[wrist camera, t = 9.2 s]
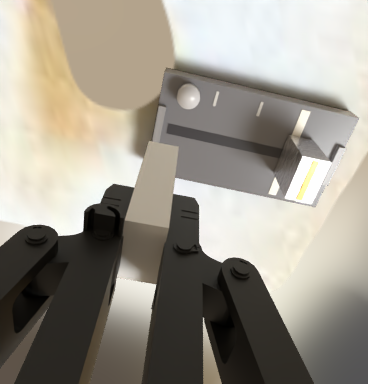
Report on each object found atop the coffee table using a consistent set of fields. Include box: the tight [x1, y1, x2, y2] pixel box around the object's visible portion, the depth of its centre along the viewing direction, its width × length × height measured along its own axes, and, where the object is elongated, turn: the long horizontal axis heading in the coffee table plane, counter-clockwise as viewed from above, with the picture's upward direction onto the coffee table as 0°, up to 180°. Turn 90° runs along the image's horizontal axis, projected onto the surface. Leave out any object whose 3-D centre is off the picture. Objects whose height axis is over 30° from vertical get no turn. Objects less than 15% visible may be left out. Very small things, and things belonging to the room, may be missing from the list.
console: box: [152, 68, 359, 207], centre depth 41 cm, size 12×22×4 cm, turn 77°
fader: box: [274, 135, 331, 204], centre depth 38 cm, size 5×3×6 cm, turn 167°
